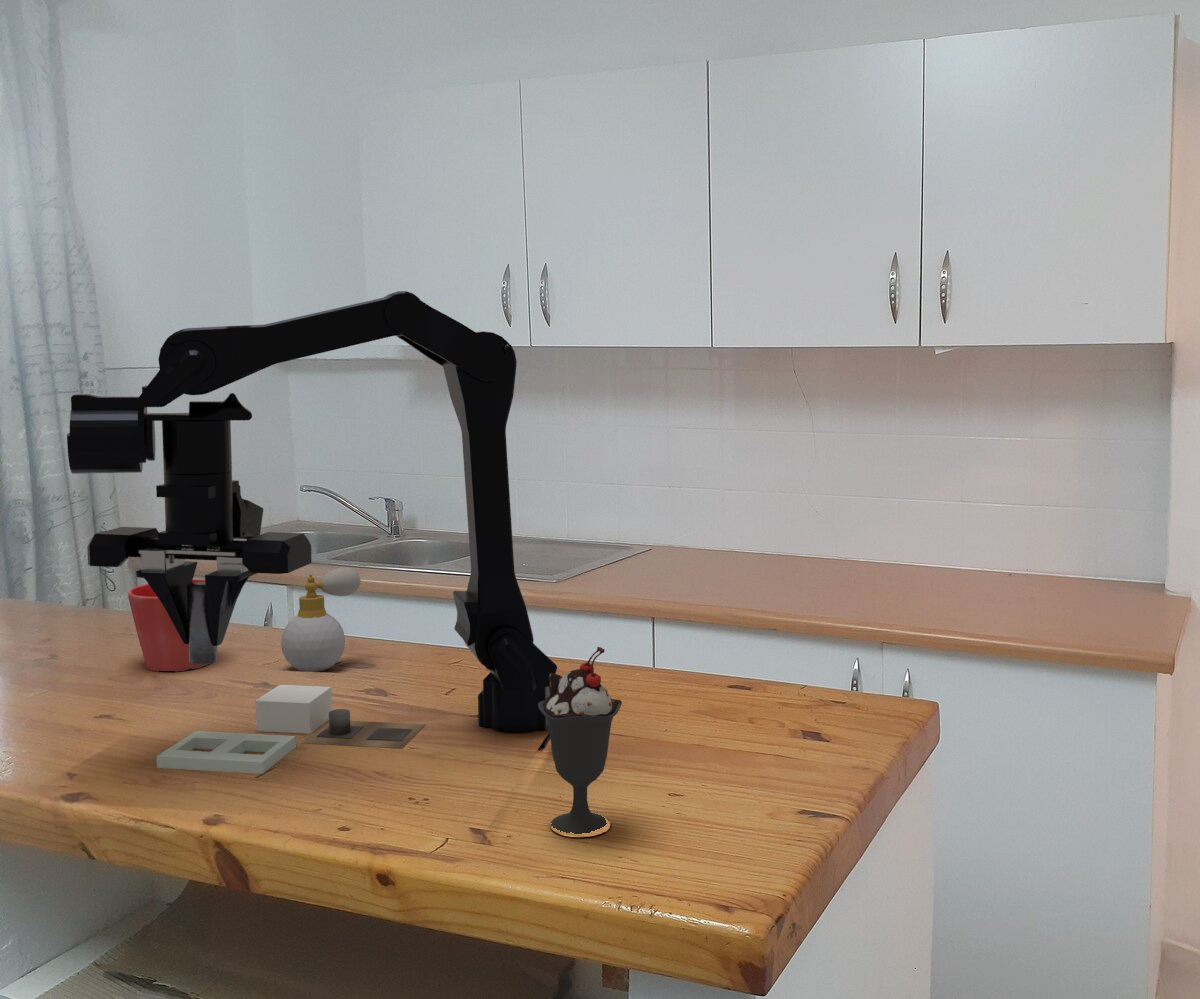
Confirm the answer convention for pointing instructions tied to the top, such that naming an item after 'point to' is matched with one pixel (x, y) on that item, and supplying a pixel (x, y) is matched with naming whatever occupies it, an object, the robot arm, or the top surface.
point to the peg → (199, 626)
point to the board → (362, 732)
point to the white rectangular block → (293, 709)
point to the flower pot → (158, 632)
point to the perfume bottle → (318, 624)
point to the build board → (227, 752)
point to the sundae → (579, 738)
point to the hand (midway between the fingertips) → (203, 644)
